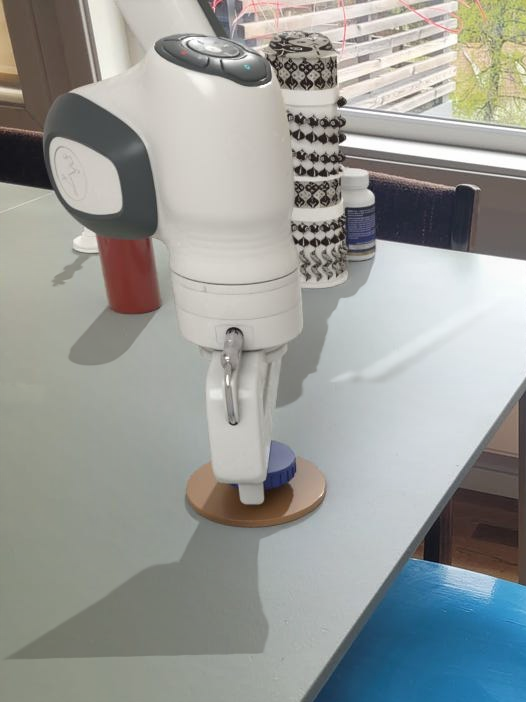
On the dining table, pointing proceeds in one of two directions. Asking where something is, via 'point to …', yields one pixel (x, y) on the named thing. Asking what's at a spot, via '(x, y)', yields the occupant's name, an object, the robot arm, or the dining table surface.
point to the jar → (129, 274)
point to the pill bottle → (358, 214)
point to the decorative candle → (314, 152)
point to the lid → (279, 466)
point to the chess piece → (86, 242)
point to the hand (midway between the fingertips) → (256, 475)
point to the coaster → (276, 508)
